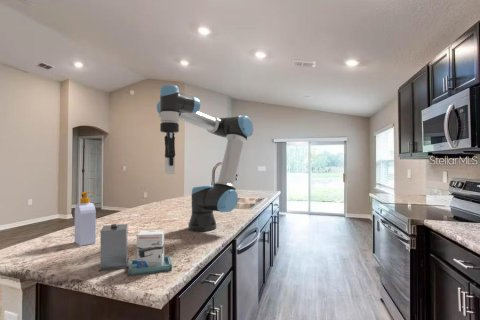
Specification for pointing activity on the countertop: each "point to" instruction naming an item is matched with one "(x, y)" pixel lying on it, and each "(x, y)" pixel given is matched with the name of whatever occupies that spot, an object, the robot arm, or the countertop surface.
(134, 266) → the tray
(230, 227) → the countertop surface
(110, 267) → the unit
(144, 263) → the ink box
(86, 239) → the soap bottle
